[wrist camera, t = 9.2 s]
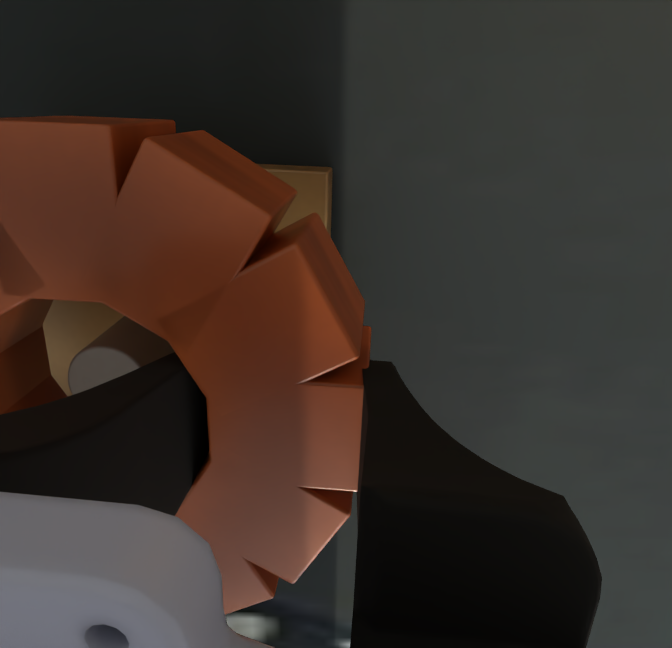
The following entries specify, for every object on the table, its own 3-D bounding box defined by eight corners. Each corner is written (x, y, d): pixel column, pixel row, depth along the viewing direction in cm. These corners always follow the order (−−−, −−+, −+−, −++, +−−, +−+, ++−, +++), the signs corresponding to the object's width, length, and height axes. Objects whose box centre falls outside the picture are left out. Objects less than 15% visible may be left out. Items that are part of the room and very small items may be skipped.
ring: (357, 550, 16) (351, 650, 13) (-24, 517, 17) (-112, 604, 14) (383, 127, 12) (383, 135, 9) (-128, 107, 13) (-284, 108, 10)
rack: (324, 432, 19) (299, 555, 14) (77, 412, 20) (-35, 522, 15) (332, 166, 16) (303, 198, 11) (36, 153, 17) (-128, 177, 12)
